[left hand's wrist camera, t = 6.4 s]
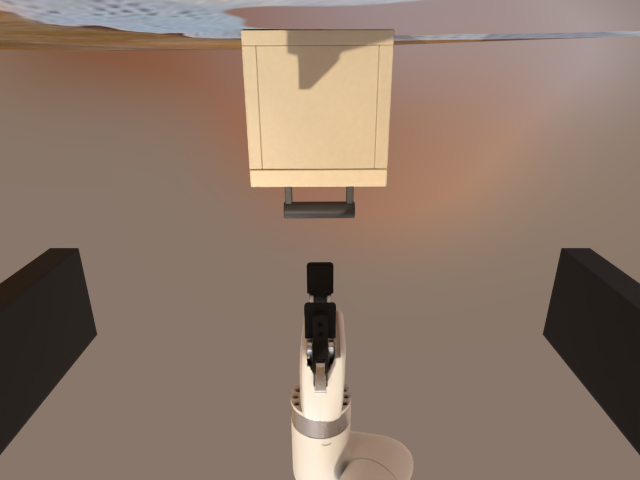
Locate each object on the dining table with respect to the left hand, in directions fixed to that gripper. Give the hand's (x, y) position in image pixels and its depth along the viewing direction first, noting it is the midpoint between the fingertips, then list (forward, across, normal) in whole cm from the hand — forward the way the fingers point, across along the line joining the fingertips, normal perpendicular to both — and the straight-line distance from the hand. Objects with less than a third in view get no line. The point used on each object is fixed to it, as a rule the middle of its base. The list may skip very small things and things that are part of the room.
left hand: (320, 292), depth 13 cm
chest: (+28, 0, -8) cm, 29 cm away
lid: (+29, 0, +1) cm, 29 cm away
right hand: (+34, 0, +17) cm, 38 cm away
